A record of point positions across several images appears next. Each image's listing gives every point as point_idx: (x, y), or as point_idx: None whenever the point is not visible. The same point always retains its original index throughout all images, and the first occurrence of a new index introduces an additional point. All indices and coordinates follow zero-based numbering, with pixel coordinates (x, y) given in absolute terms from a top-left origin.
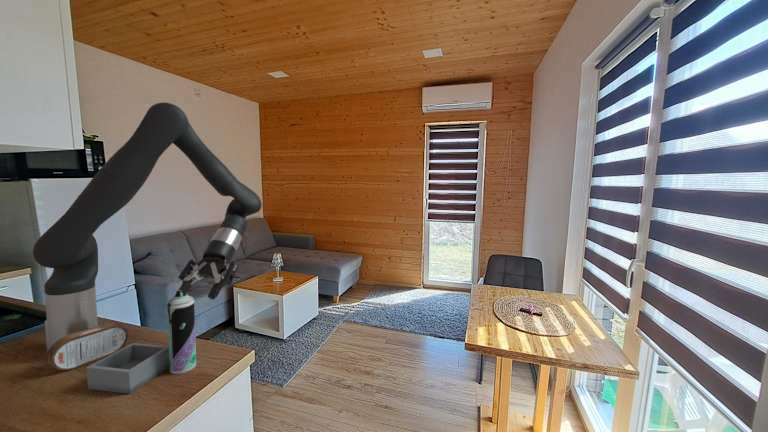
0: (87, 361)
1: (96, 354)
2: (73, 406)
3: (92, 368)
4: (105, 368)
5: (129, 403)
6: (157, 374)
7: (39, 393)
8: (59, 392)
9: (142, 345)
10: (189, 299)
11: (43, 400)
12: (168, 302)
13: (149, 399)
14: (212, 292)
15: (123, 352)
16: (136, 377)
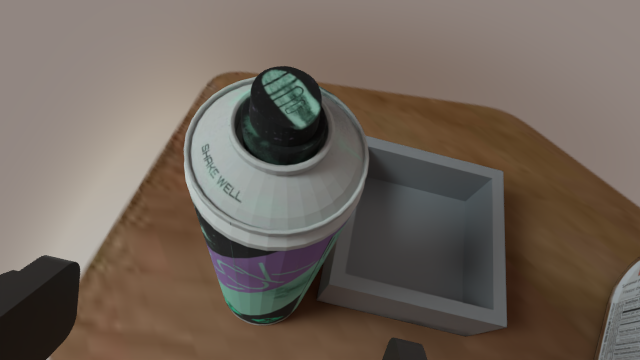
0: (606, 327)
1: (613, 349)
2: (438, 142)
3: (482, 166)
4: (443, 160)
5: None
6: None
7: (563, 195)
8: (522, 194)
9: (450, 301)
10: (202, 129)
11: (525, 170)
12: (346, 114)
13: None
14: (12, 282)
15: (487, 273)
16: None
